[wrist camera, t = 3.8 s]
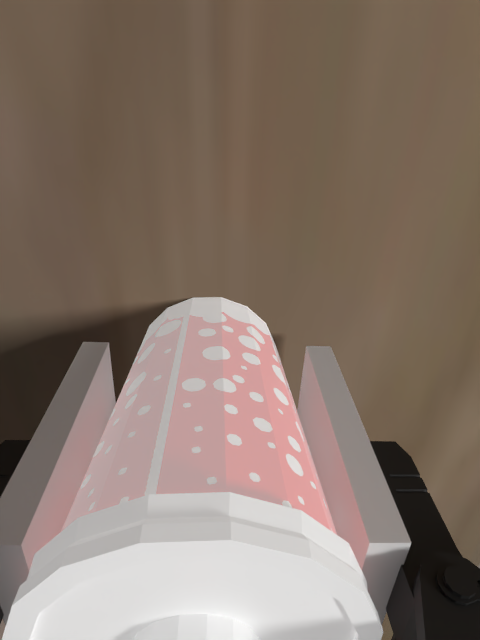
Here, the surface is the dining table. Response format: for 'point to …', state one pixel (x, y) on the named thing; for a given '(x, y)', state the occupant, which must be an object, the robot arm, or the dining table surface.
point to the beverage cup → (199, 506)
